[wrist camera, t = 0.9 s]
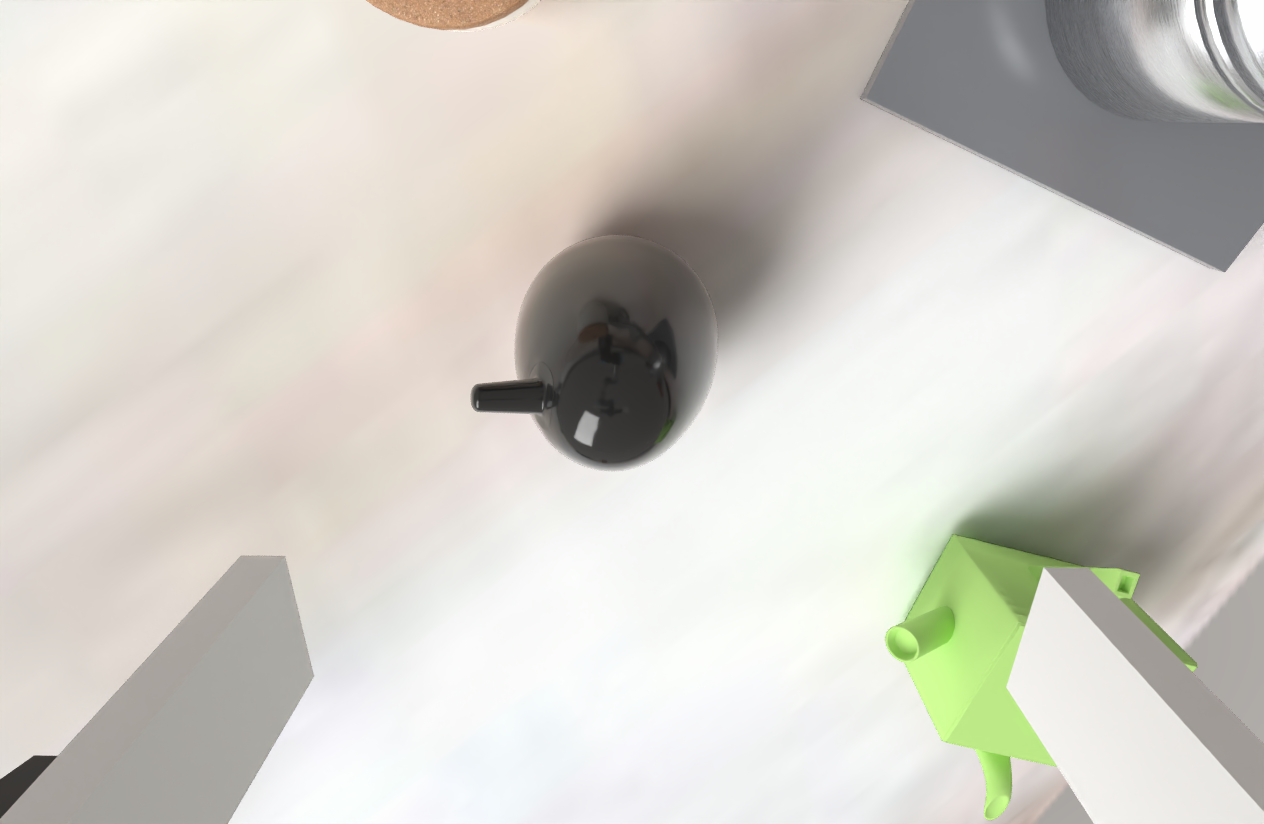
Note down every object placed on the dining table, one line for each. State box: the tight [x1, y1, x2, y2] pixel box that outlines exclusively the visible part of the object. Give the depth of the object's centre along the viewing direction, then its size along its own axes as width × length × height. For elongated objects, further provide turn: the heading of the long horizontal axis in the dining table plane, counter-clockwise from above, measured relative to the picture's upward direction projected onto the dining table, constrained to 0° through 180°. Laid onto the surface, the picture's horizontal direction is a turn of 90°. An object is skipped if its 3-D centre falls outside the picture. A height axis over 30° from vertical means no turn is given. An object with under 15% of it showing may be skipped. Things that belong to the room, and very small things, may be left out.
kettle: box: [885, 535, 1197, 820], centre depth 41 cm, size 15×14×11 cm
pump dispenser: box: [471, 235, 718, 471], centre depth 31 cm, size 10×10×15 cm
